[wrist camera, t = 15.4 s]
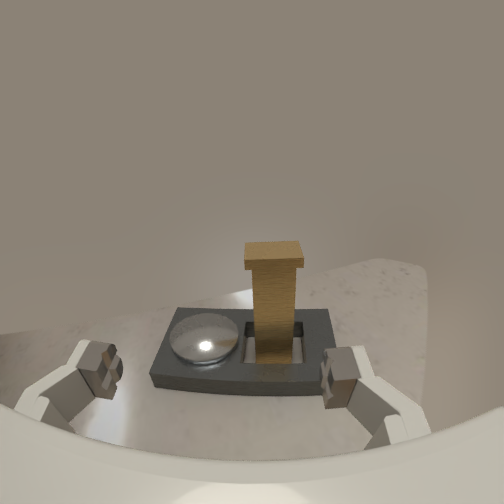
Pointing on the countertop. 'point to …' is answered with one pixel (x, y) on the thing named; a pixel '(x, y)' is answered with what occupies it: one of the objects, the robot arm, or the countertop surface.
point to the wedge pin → (273, 297)
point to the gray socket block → (237, 354)
